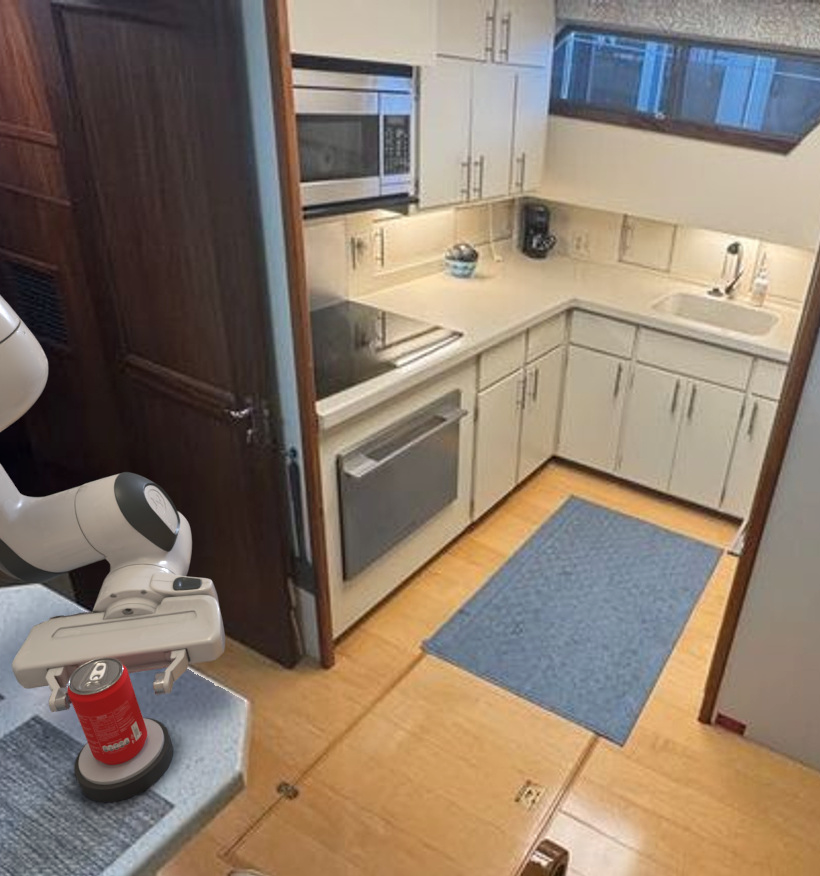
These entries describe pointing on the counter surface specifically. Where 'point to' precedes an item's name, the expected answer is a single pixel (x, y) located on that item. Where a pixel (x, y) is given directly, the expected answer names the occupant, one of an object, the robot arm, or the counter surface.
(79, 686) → the beverage can
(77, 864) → the counter surface
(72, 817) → the counter surface
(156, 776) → the scale
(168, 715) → the counter surface
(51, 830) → the counter surface
